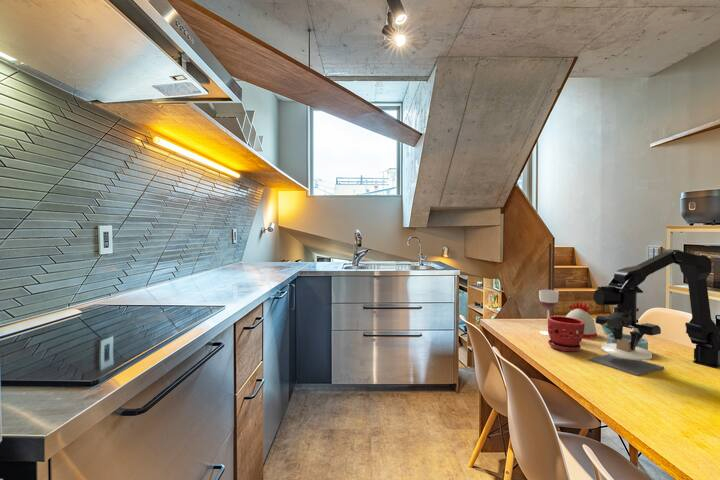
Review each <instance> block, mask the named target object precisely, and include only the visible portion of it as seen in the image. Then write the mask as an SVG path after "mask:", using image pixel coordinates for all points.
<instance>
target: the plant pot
mask: <svg viewBox="0 0 720 480" xmlns="http://www.w3.org/2000/svg"><path fill="white" fill-rule="evenodd" d="M547 318H548V334H549V335H548V336H549V340H548V341H547V343H548V345H549V346H550V347H551V348H553V349H556V350H560V351H562V352H563V351H565V352H577V351H579V350H580V349H581V348H582V347H581V344H580V343H581V342H582V340H583V339H584V338H583V334H584V326H585V323H584V322H583V321H581V320H578V319H575V318H569V317H566V316H560V315H551V316H550V315H549V317H548V316H547ZM563 330H565V331H563ZM576 331H578V333H576Z"/></svg>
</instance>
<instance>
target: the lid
mask: <svg viewBox="0 0 720 480" xmlns="http://www.w3.org/2000/svg"><path fill="white" fill-rule="evenodd" d="M600 350H601V352H603V353H605V354H606V355H608V354H609V355H612V356H616V357H620V358H625V359H632V360H642V361H649V360H651V359H652V358H653V353H652V352H651V351H650V350H649V349H648V350H646V349H643V348H640V347H635V349H634V350H631V340H630V339H626V338H620V339H617V344H615V343H608V344H607V343H603V344H602V345H601V346H600Z"/></svg>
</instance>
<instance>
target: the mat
mask: <svg viewBox="0 0 720 480" xmlns="http://www.w3.org/2000/svg"><path fill="white" fill-rule="evenodd" d="M588 361H590V362H594V363H597V364H600V365H603V366H605V367H608V368H612V369H615V370H618V371H621V372H624V373H626V374H629V375H633V376H636V377H637V376H641V375H645V374H650V373H653V372H657V371H660V370H664V369H665V366H662V365H660V364H656V363H654V362H653V363H652V362H648V361H647V360H632V359H625V358H620V357H616V356H612V355H609V354H603V355H599V356H594V357H590V358H588Z"/></svg>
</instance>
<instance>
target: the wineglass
mask: <svg viewBox="0 0 720 480" xmlns="http://www.w3.org/2000/svg"><path fill="white" fill-rule="evenodd" d="M559 295H560V293H559V290H554V289H539V291H538V297H539V303H540V304H541V307H543V308H544V309H546V310H547V319H546V321H547V323H546V325H547V330H546V331H545V330H542V331H539V333H540V335H544V336H549V334H548V317H550V310H552V309H554V308H556V307H557V305H558V302H559V297H560V296H559Z"/></svg>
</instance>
